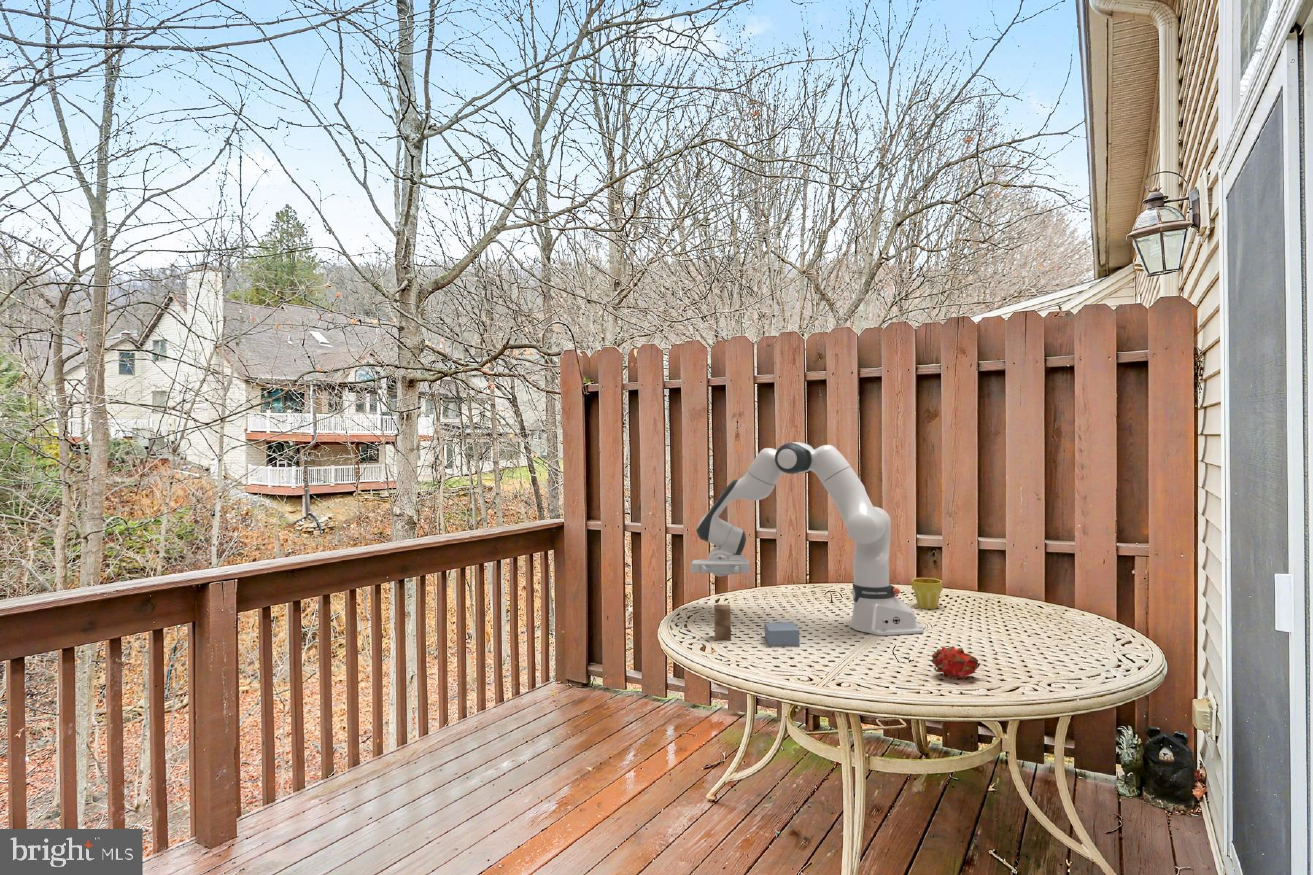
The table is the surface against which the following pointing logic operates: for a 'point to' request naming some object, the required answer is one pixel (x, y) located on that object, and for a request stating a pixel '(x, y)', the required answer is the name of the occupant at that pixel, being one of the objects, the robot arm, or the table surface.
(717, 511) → the robot arm
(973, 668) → the dragon fruit
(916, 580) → the plant pot
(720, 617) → the walnut block
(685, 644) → the table surface
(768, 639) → the slate block
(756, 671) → the table surface
